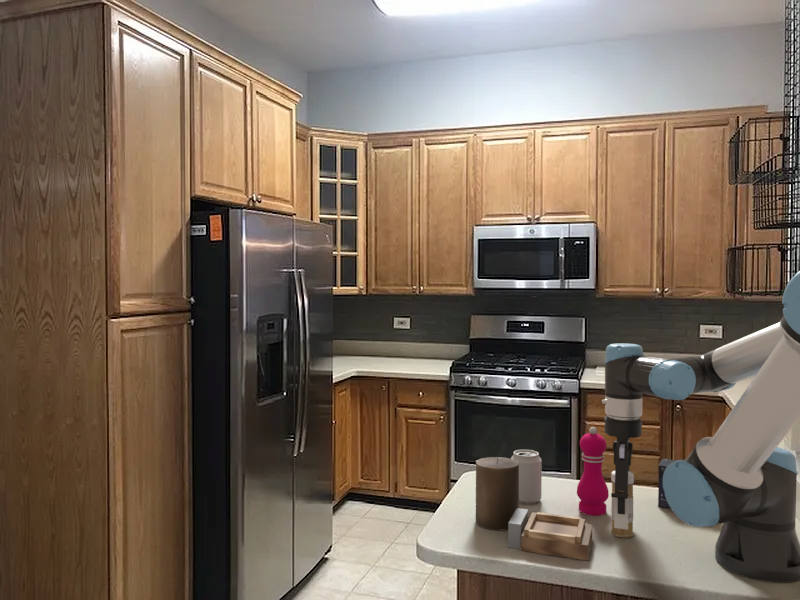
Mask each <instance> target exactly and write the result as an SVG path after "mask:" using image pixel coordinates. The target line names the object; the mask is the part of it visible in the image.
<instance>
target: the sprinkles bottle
mask: <svg viewBox="0 0 800 600" xmlns="http://www.w3.org/2000/svg"><path fill="white" fill-rule="evenodd" d="M610 475H611V476H610V477H611V478H610V479H611V488H612V489H611V493H615V470H612V471H611V474H610ZM634 475H635V474H634V473H633V472H632V471H631V470H630V471H628V497H629V498H628V530H627V529H619V528H614V497H611V534H612V535H613V536H616V537H619V538H624V539H625V538H631V537H633V536H634V531H633V530H634V525H633V523H634V483H635V476H634ZM620 492H624V491H620Z"/></svg>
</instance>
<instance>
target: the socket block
mask: <svg viewBox="0 0 800 600" xmlns="http://www.w3.org/2000/svg"><path fill="white" fill-rule="evenodd" d="M593 526H594V525H593V524H589V523H588V524H587V523H586V519H585V518H581V517H579V516H578V517H577V516H569V515H564V514H563V515H561V514H553V513H547V512H534V511H533V512H531V514H530V515H529V517H528V522H527V524H526V526H525V528H524V531H523V533H522V535H521V549H520V551H522V552H530V553H533V554H534V553H535V554H542V555H549V556H553V557H554V556H555V557H562V558H568V559H574V560H582V561H589V556H590V553H591V547H592V543H593Z"/></svg>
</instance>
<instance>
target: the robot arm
mask: <svg viewBox="0 0 800 600" xmlns="http://www.w3.org/2000/svg"><path fill="white" fill-rule="evenodd" d="M781 303H782V304H783V307H784V308H782V313H783V317H781V319H780V321H779V322H777V323H774V324H772V325H769V326H768V327H765V328H762V329H760V330H757V331H755V332H752V333H751V334H748V335H745V336H743V337H741V338H739V339H735V340H733V341H732V342H729V343H726V344H724V345H722V346H720V347H718V348H716V349H713V350H710V351H708V352H706V353H704V354H700V355H692V356H681V357H680V356H679V357H678V356H677V357H666V358H660V357H650V356H645V355H644V352H643V351H644V349H643V347H642V345H640V344H636V343H617V342H616V343H610V344H609V345H607V346H606V347H605V356H604V357H605V358H604V395H605V396H604V399H602V400H601V403H602V404H603V405H605V406H604V413H605V414H606V415H605V416H604V433H605V434H606V436H607V435H608V436H609V437H615V438H616V440H613V444H612V453H613V464H614V466H615V469H614V471H615V493H612V492H610V493H611V494H610V497H611V498H612V497H614V528H619V529H627V530H628V498H629V497H628V471H630V472H631V470H630V467H631V464H632V454H633V447H634V446H633V445H634V442H631V441H630V439H636V438H639V437H641V436H642V433H643V432H642V431H643V419H642V418H641V417H642V416H643V394H645V395H649V396H653V397H658V398H660V399H664V400H675V401H683V400H686V399H687V398H688V397H689V396H691V394H700V393H701V394H702V393H718V392H723V391H726V390H729V389H732V388H733V387H734V386H735V385H736V384H737V383H739V382H741V381H745V380H748V379H751V378H753V377H754V378H753V379H752V381H750V383H749V385H748V386H747V388H746V389H745V390H744V392H743V394H742V395H741V396H740V397H739V400H738V401H737V402H736V404H735V405H734V406H733V408H732V409H731V411H730V412H729V414H728V415H727V416H726V418H725V419H724V421H723V422H722V424H721V425H720V426H719V428H718V429H717V430H716V432H715V434H714V435H713V436H705V437H702V438H700V440H698V441H697V443H696V444H695V446H694V447H693V448H692V450H691V452H690V453H689V454H688V456H687V457H686V458H685V459H677V460H676V461H675V462H673V463H671V464H669V465H668V466H667V467H666V469H665V471H664V474H663V489H664V491H665V497H666V500H667V502H668V504H669V506H670V507H671V509H670V510H672V512H673V513H674V514H675V516H676V517H677V518H678V519H680V521H682V522H684V523H685V524H686V525H688V526H693V527H695V528H696V527H697V528H703V527H709V528H710V527H713V526H717V525H719V524H722V527H721V530H720V532H719V535H718V538H717V540H716V542H715V546H714V557H715V560H716V561H717V563H718V564H720V566H722V567H723V568H725V569H727V570H728V571H730V572H733V574H734V573H735V574H737V575H740V576H743V577H746V578H749V579H753V580H756V581H763V582H769V583H793V582H799V581H800V540H799V537H798V534H797V530H796V515H797V509H796V508H797V477H798V474H799V473H798V471H797V458H796V457H795V454H793V453H792V452H791V451H789V450H788V449H785V448H782V447H778V446H779V445H780V443H782V441H783V440H784V438H785V437H786V436H787V434H788V433H790V431H791V430H792V428H793V427H794V426H795V425H796V423H797V422H798V421H799V419H800V270H799V271H797V272H796V273H795V275H794V276H793V277H792V278H790V280H789V281H788V283H787V285H786V287H785V289H784V291H783V295H782V301H781ZM620 491H624V492H620Z"/></svg>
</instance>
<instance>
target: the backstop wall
mask: <svg viewBox="0 0 800 600" xmlns="http://www.w3.org/2000/svg"><path fill="white" fill-rule="evenodd" d="M528 520H529V509H527V508H520V507H519V508H517V509H516V510H515V512H514V514H513V516H512V517H511V519H510V521H509V523H508V532H507V533H508V537H507V538H508V539H507V540H508V541H507V544H508V548H513V549H519V550H521V535H522V533H523V531H524V528H525V526H526V524H527V522H528Z"/></svg>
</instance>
